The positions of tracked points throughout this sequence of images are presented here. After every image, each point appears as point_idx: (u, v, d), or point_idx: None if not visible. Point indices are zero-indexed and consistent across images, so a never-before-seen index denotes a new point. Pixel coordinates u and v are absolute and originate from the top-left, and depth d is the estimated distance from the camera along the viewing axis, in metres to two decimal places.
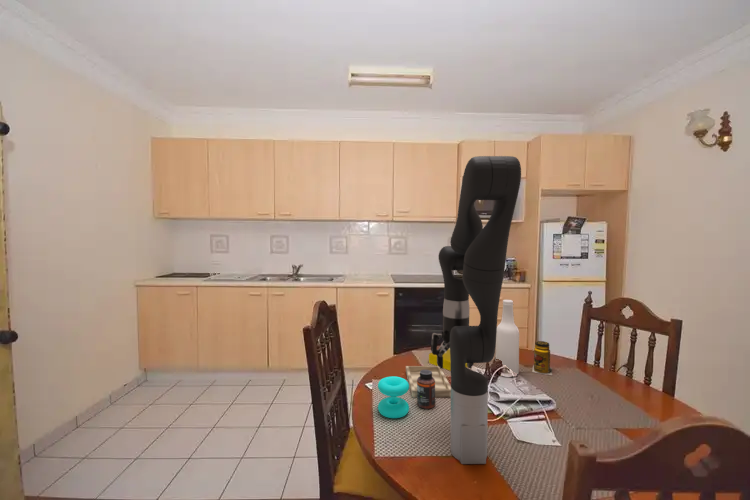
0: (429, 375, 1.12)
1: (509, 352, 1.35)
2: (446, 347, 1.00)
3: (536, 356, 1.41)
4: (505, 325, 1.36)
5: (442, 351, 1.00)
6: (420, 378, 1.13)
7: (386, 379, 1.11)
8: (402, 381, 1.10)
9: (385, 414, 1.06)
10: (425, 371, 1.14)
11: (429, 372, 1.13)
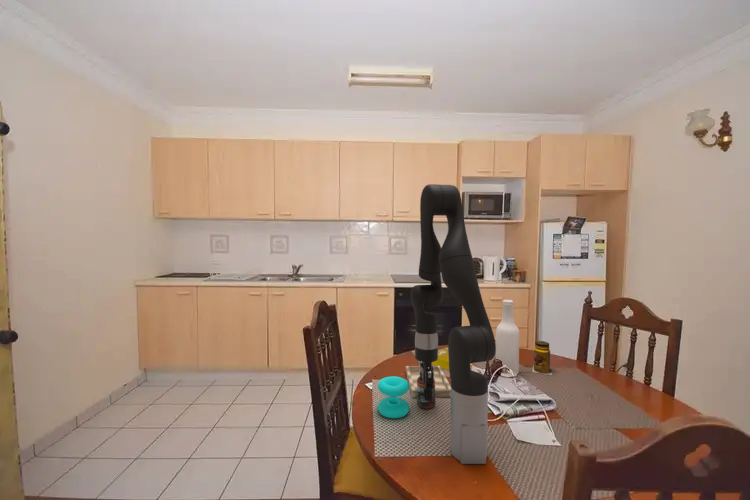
0: None
1: (509, 352, 1.35)
2: None
3: (536, 356, 1.41)
4: (505, 325, 1.36)
5: None
6: (420, 378, 1.13)
7: (386, 379, 1.11)
8: (402, 381, 1.10)
9: (385, 414, 1.06)
10: None
11: None
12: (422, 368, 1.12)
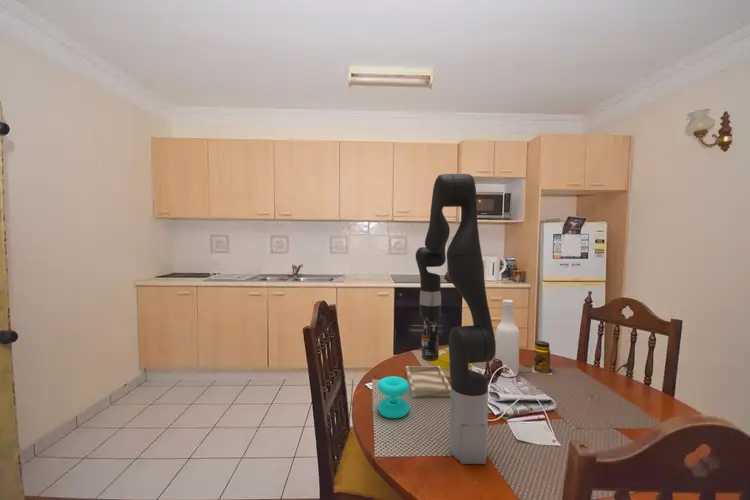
0: None
1: (509, 352, 1.35)
2: None
3: (536, 356, 1.41)
4: (505, 325, 1.36)
5: None
6: (424, 333, 1.22)
7: (386, 379, 1.11)
8: (402, 381, 1.10)
9: (385, 414, 1.06)
10: None
11: None
12: (426, 324, 1.21)
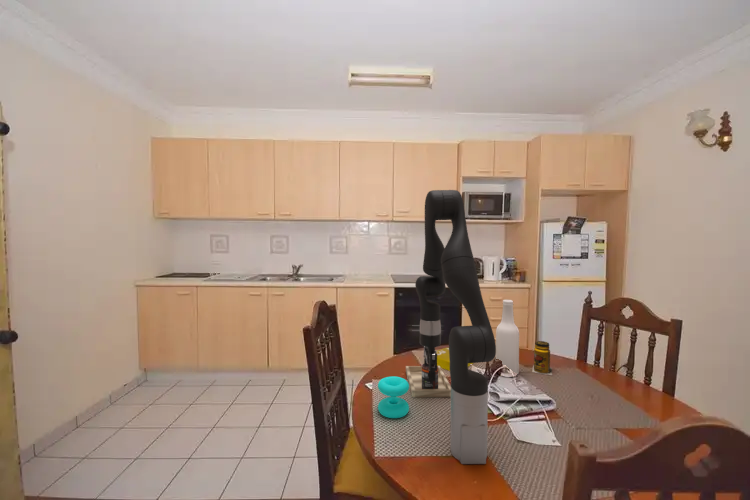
0: None
1: (509, 352, 1.35)
2: None
3: (536, 356, 1.41)
4: (505, 325, 1.36)
5: None
6: (424, 365, 1.23)
7: (386, 379, 1.11)
8: (402, 381, 1.10)
9: (385, 414, 1.06)
10: None
11: None
12: (426, 352, 1.22)
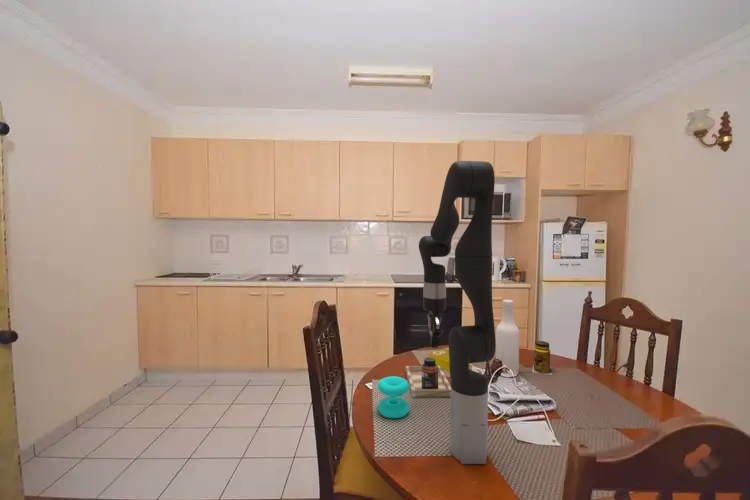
0: (433, 362, 1.22)
1: (509, 352, 1.35)
2: None
3: (536, 356, 1.41)
4: (505, 325, 1.36)
5: None
6: (424, 365, 1.23)
7: (386, 379, 1.11)
8: (402, 381, 1.10)
9: (385, 414, 1.06)
10: (429, 358, 1.24)
11: (433, 359, 1.23)
12: (430, 319, 1.13)
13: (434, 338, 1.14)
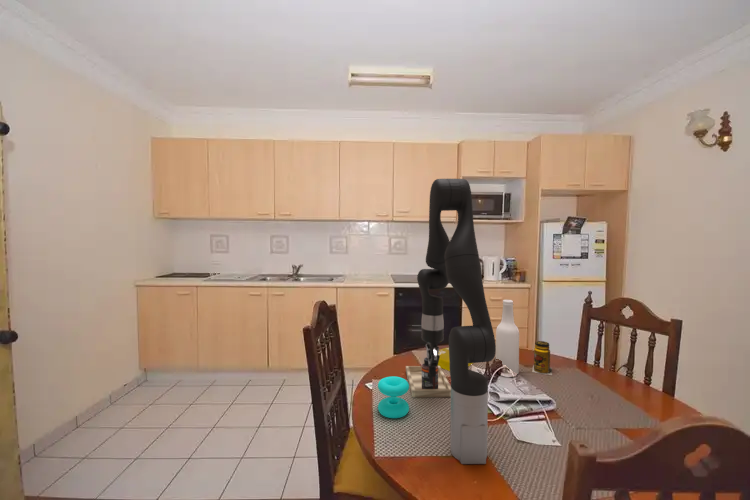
0: None
1: (509, 352, 1.35)
2: None
3: (536, 356, 1.41)
4: (505, 325, 1.36)
5: None
6: (424, 364, 1.23)
7: (386, 379, 1.11)
8: (402, 381, 1.10)
9: (385, 414, 1.06)
10: None
11: None
12: (428, 349, 1.17)
13: (432, 368, 1.17)
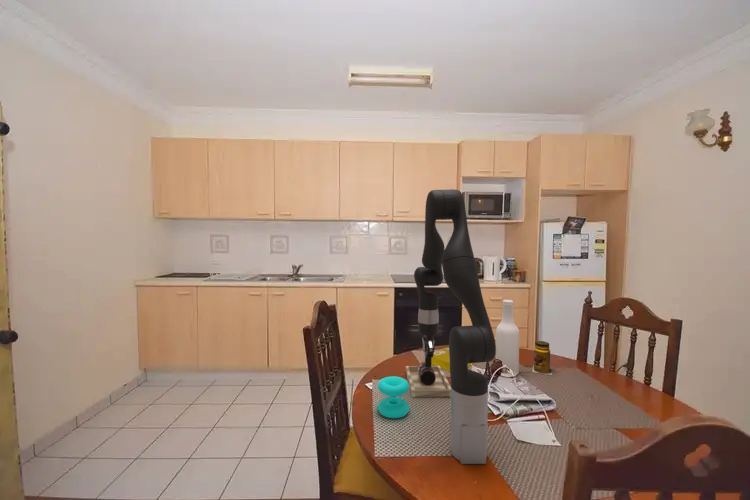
0: None
1: (509, 352, 1.35)
2: None
3: (536, 356, 1.41)
4: (505, 325, 1.36)
5: None
6: None
7: (386, 379, 1.11)
8: (402, 381, 1.10)
9: (385, 414, 1.06)
10: None
11: None
12: (424, 342, 1.25)
13: (428, 359, 1.26)
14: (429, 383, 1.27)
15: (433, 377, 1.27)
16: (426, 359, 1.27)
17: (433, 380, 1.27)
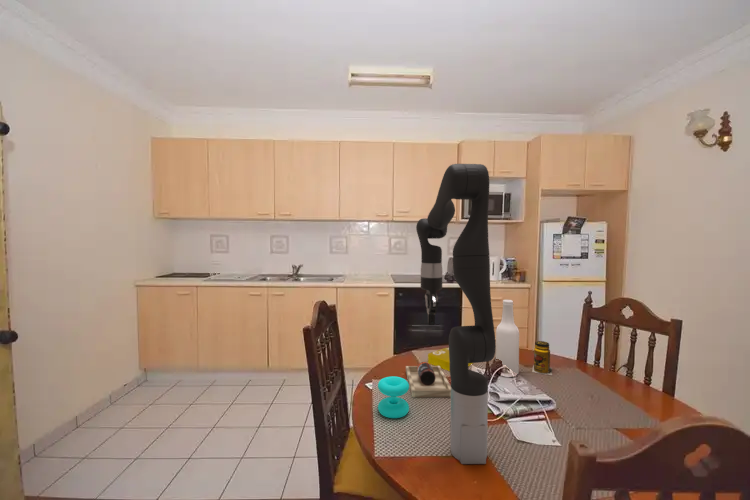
0: None
1: (509, 352, 1.35)
2: None
3: (536, 356, 1.41)
4: (505, 325, 1.36)
5: None
6: None
7: (386, 379, 1.11)
8: (402, 381, 1.10)
9: (385, 414, 1.06)
10: None
11: None
12: (427, 297, 1.19)
13: (431, 316, 1.19)
14: (429, 383, 1.27)
15: (433, 377, 1.27)
16: (429, 316, 1.20)
17: (433, 380, 1.27)
